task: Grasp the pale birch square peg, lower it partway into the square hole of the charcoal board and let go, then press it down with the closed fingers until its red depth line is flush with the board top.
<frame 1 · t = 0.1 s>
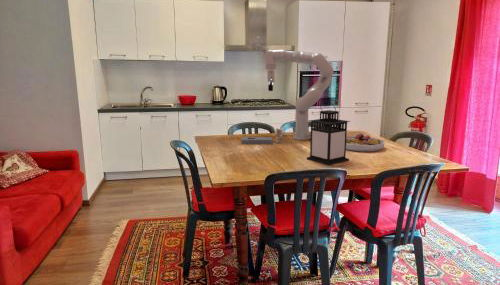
hand: (270, 90, 273), 37 cm above the table, fingers open, 9 cm apart
lantern: (327, 160, 215), on the table
bowl: (360, 148, 248), on the table
peg: (278, 142, 266), on the table
board: (256, 142, 266), on the table
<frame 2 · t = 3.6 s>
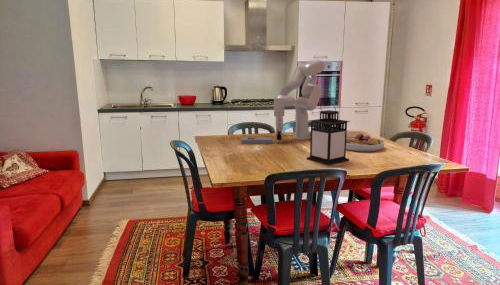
hand: (278, 138, 265), 3 cm above the table, fingers closed on peg, 4 cm apart
peg: (278, 142, 266), on the table, touching gripper
everything else where it was.
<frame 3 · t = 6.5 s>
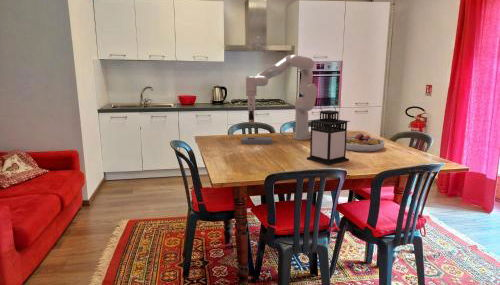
hand: (251, 119, 263), 17 cm above the table, fingers closed on peg, 4 cm apart
peg: (251, 122, 263), point 14 cm above the table, touching gripper
everything else where it was.
when the fingers open (4 cm above the table, at t = 9.3 s): peg stays where it is, resting in board.
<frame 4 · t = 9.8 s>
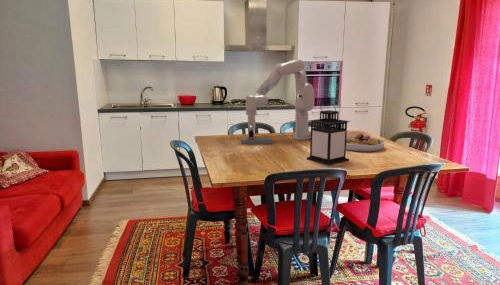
hand: (251, 136, 265), 5 cm above the table, fingers open, 9 cm apart
peg: (251, 142, 266), resting in board
everything else where it was.
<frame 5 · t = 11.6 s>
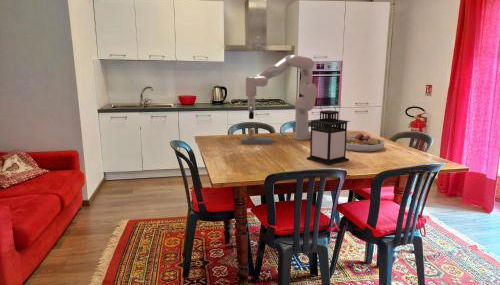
hand: (251, 118, 263), 18 cm above the table, fingers open, 9 cm apart
nothing on the table moved.
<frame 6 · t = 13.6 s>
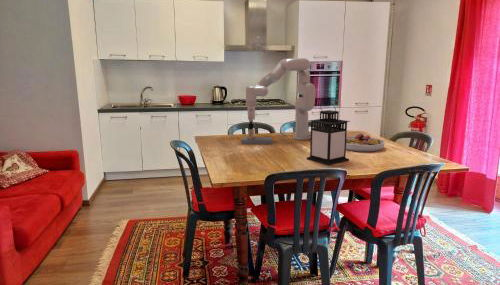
hand: (251, 129, 264), 10 cm above the table, fingers closed
peg: (251, 142, 266), resting in board, touching gripper
everything else where it was.
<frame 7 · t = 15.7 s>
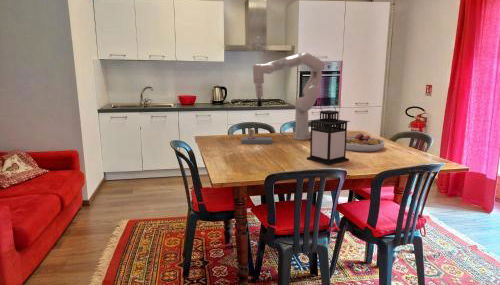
hand: (259, 106, 269), 25 cm above the table, fingers closed
peg: (251, 142, 266), resting in board
everything else where it was.
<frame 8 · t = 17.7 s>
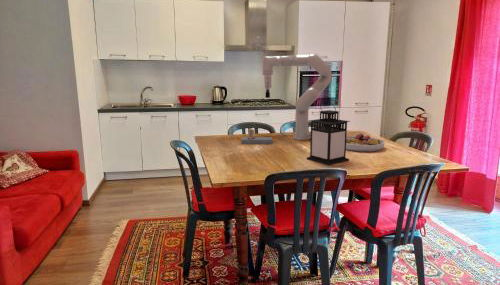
hand: (267, 97, 278), 31 cm above the table, fingers closed
nothing on the table moved.
at the end: peg 0.1 cm from the target spot on the board, point 0.0 cm above the board's base; peg tilted 0°; the gripper is holding nothing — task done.
